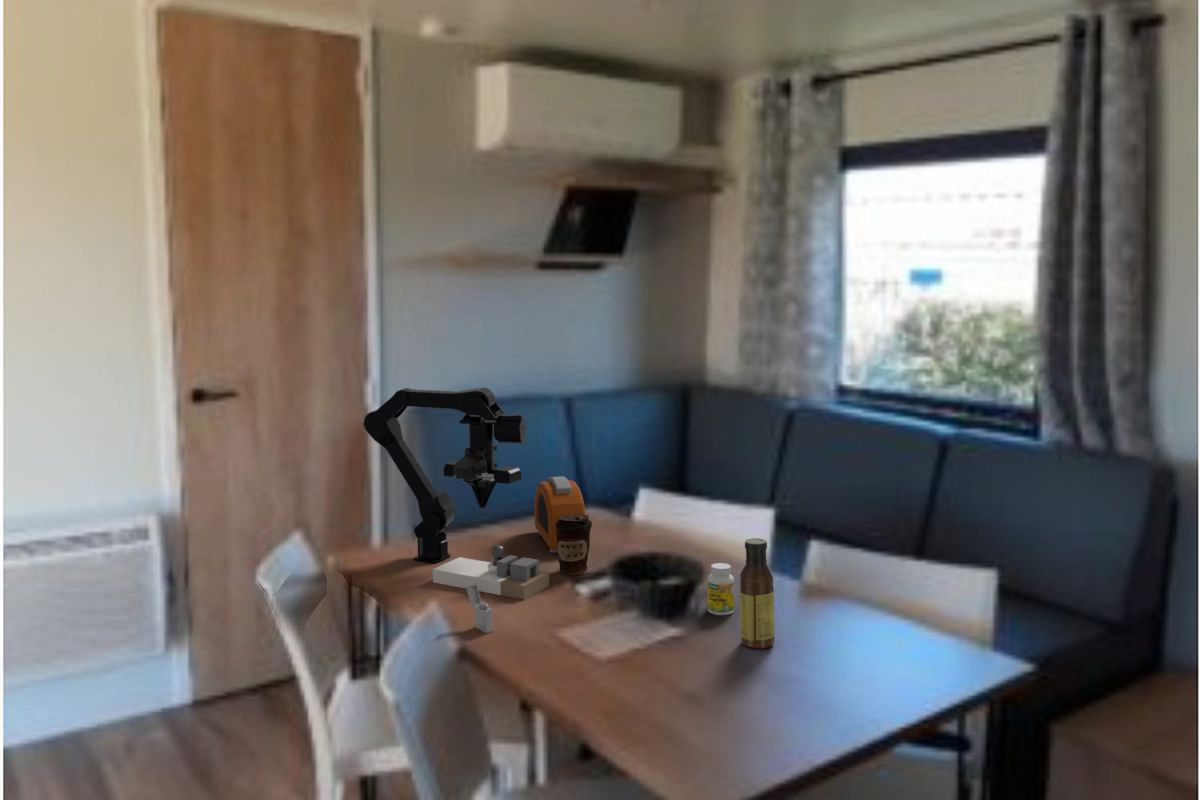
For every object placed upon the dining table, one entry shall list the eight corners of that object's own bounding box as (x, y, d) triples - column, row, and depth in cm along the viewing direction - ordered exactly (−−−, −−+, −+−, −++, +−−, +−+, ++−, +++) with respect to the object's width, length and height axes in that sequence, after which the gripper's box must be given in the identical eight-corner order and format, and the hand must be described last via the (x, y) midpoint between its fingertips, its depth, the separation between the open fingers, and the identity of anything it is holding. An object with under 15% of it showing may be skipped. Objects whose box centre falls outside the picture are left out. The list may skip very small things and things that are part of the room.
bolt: (487, 571, 220) (486, 546, 219) (493, 568, 222) (493, 544, 221) (525, 578, 215) (525, 553, 214) (531, 575, 217) (531, 550, 216)
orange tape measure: (534, 531, 263) (533, 469, 261) (567, 529, 266) (567, 467, 263) (551, 557, 241) (550, 489, 238) (587, 554, 243) (587, 487, 241)
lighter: (493, 631, 194) (492, 591, 193) (486, 633, 193) (485, 593, 192) (474, 620, 199) (473, 581, 198) (466, 622, 198) (465, 583, 197)
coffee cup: (591, 578, 225) (591, 521, 223) (554, 578, 225) (554, 521, 223) (592, 566, 234) (592, 511, 232) (557, 566, 234) (556, 511, 232)
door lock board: (433, 582, 223) (432, 554, 222) (459, 569, 231) (459, 542, 230) (524, 599, 211) (523, 570, 210) (549, 585, 220) (548, 557, 219)
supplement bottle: (737, 608, 206) (737, 563, 204) (729, 617, 201) (730, 571, 199) (711, 605, 208) (712, 560, 206) (704, 613, 203) (704, 568, 202)
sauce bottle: (776, 639, 189) (779, 537, 186) (771, 652, 183) (773, 547, 180) (742, 635, 191) (744, 534, 188) (735, 647, 185) (737, 543, 183)
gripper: (427, 444, 231) (429, 510, 233) (494, 452, 222) (496, 520, 224) (456, 437, 241) (458, 500, 243) (522, 443, 232) (523, 509, 234)
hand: (482, 507), depth 236 cm, fingers closed
